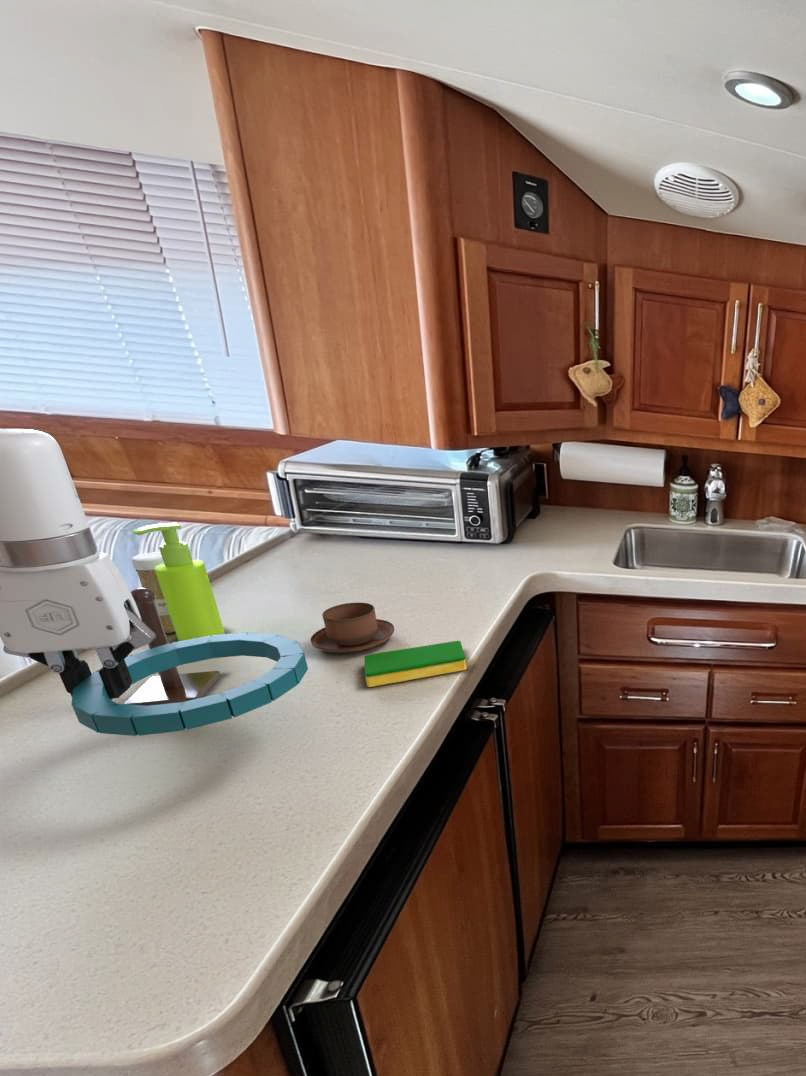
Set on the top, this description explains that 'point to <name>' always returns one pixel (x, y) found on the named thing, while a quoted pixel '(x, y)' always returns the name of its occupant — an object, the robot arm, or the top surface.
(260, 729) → the top surface
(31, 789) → the top surface
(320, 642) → the cup and saucer
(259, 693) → the hoop
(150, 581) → the sprinkles bottle
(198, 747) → the top surface
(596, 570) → the top surface
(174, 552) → the soap dispenser
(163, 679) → the wooden peg stand
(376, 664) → the dish sponge
